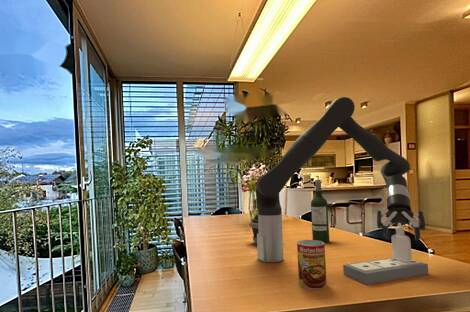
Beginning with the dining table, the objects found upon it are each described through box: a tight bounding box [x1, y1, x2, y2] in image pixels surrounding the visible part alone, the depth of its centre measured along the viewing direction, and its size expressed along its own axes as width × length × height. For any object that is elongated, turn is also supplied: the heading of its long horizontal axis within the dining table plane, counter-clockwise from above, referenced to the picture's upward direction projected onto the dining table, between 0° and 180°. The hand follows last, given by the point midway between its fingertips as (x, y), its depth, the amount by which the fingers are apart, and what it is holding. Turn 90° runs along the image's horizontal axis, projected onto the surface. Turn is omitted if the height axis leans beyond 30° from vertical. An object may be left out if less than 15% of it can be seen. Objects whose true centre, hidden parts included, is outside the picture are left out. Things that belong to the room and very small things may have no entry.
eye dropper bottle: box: [391, 223, 413, 262], centre depth 99 cm, size 4×6×12 cm
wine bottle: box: [310, 179, 330, 244], centre depth 148 cm, size 8×8×30 cm
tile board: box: [342, 257, 429, 285], centre depth 96 cm, size 24×10×3 cm, turn 108°
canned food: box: [296, 239, 328, 290], centre depth 89 cm, size 8×8×12 cm
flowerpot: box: [248, 212, 259, 245], centre depth 147 cm, size 14×15×20 cm
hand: (401, 238), depth 97 cm, fingers open, 8 cm apart
